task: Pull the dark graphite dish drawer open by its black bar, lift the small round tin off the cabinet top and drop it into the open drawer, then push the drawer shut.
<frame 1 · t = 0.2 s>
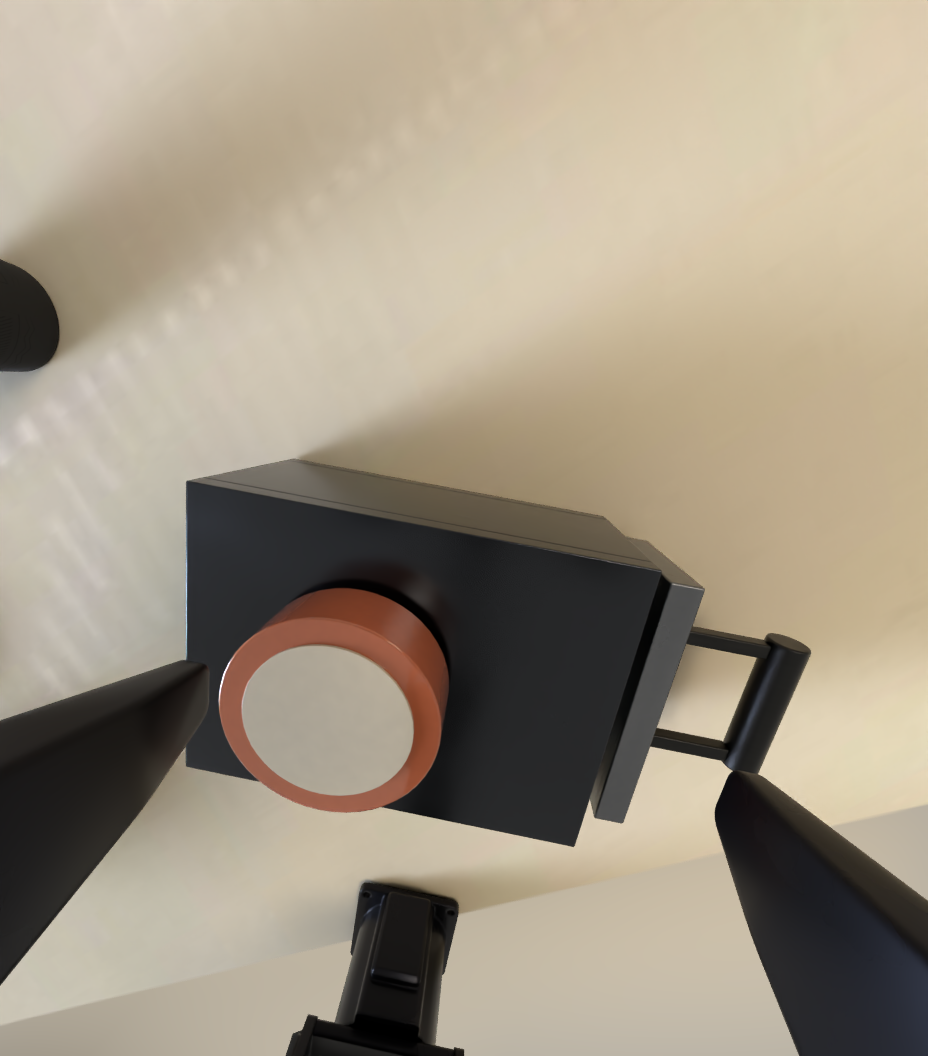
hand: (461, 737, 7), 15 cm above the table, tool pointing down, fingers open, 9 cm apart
cabinet: (429, 594, 23), on the table
drawer: (537, 652, 19), point 4 cm above the table, slide at 0.8 cm
round tin: (355, 671, 15), point 8 cm above the table, touching cabinet
drinking cup: (15, 318, 21), on the table
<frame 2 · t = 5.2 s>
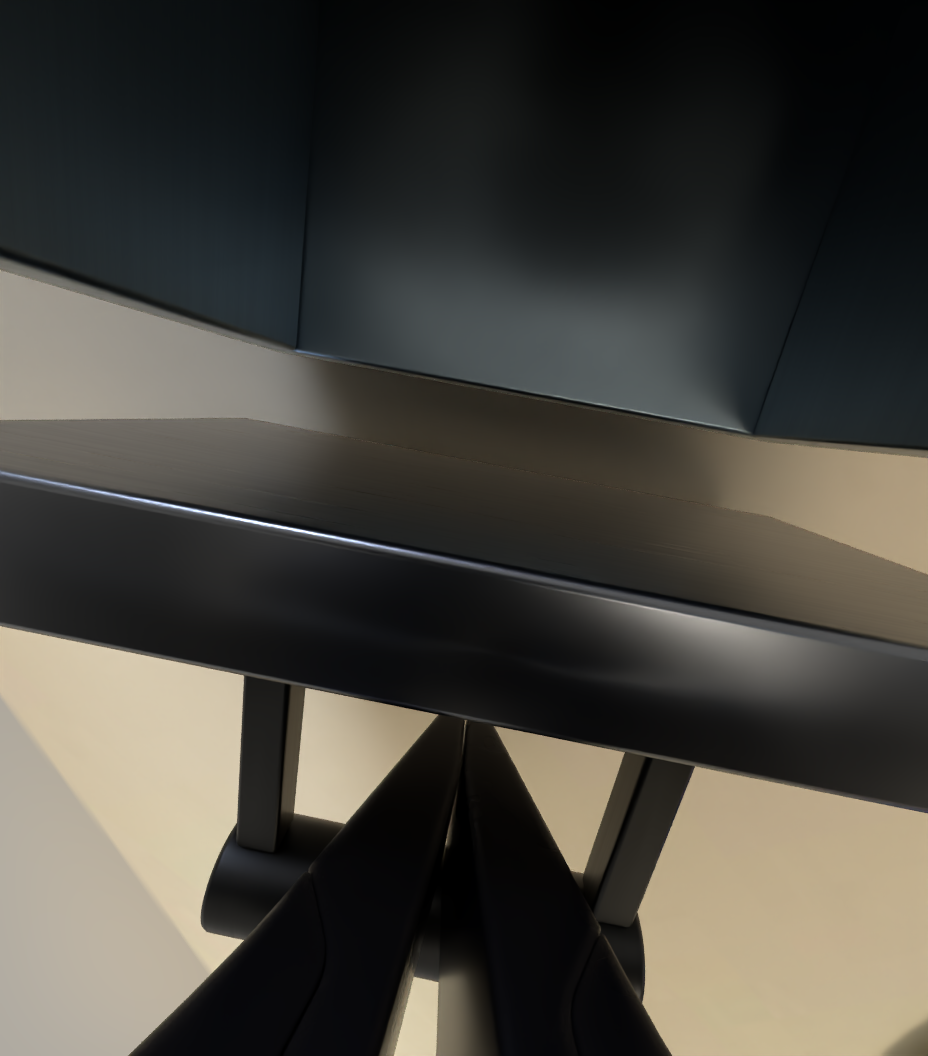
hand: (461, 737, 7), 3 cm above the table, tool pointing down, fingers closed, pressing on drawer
drawer: (568, 208, 5), point 4 cm above the table, slide at 4.0 cm, touching gripper
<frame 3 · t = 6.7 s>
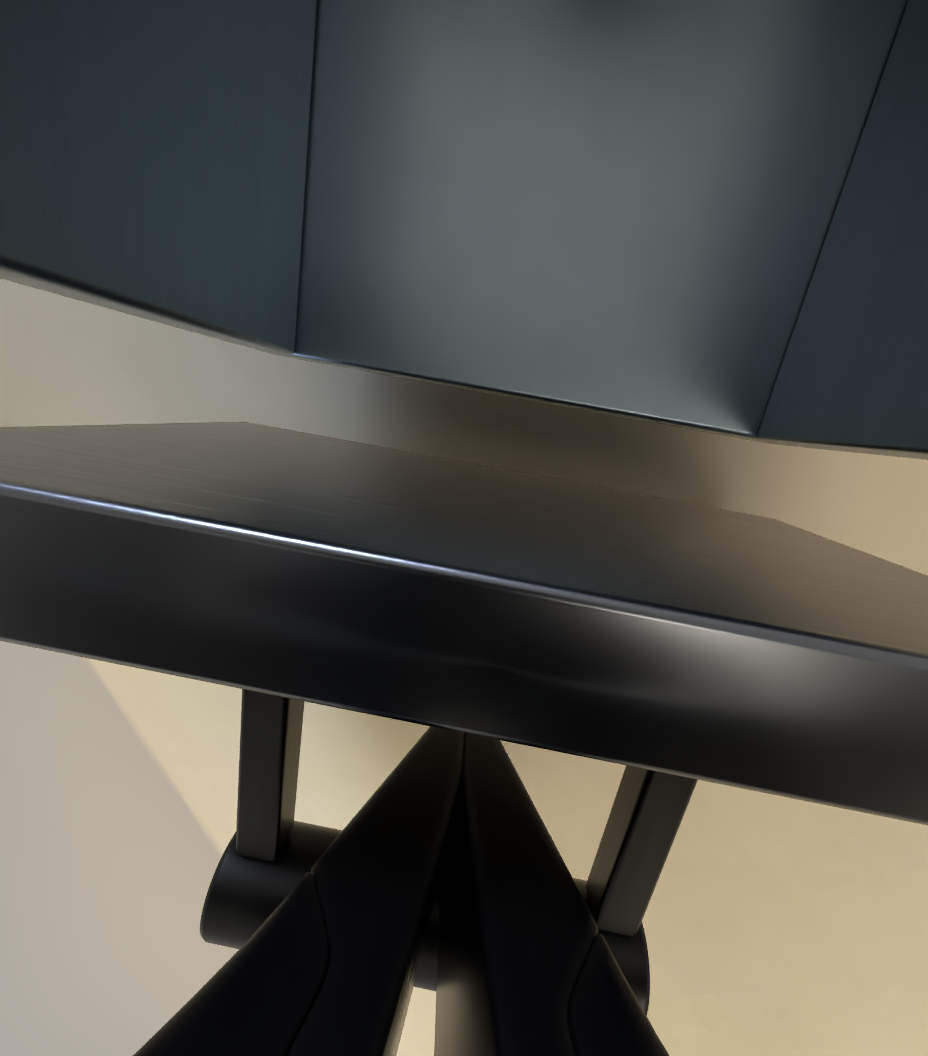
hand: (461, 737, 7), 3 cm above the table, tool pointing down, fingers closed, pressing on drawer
drawer: (568, 209, 5), point 4 cm above the table, slide at 9.7 cm, touching gripper
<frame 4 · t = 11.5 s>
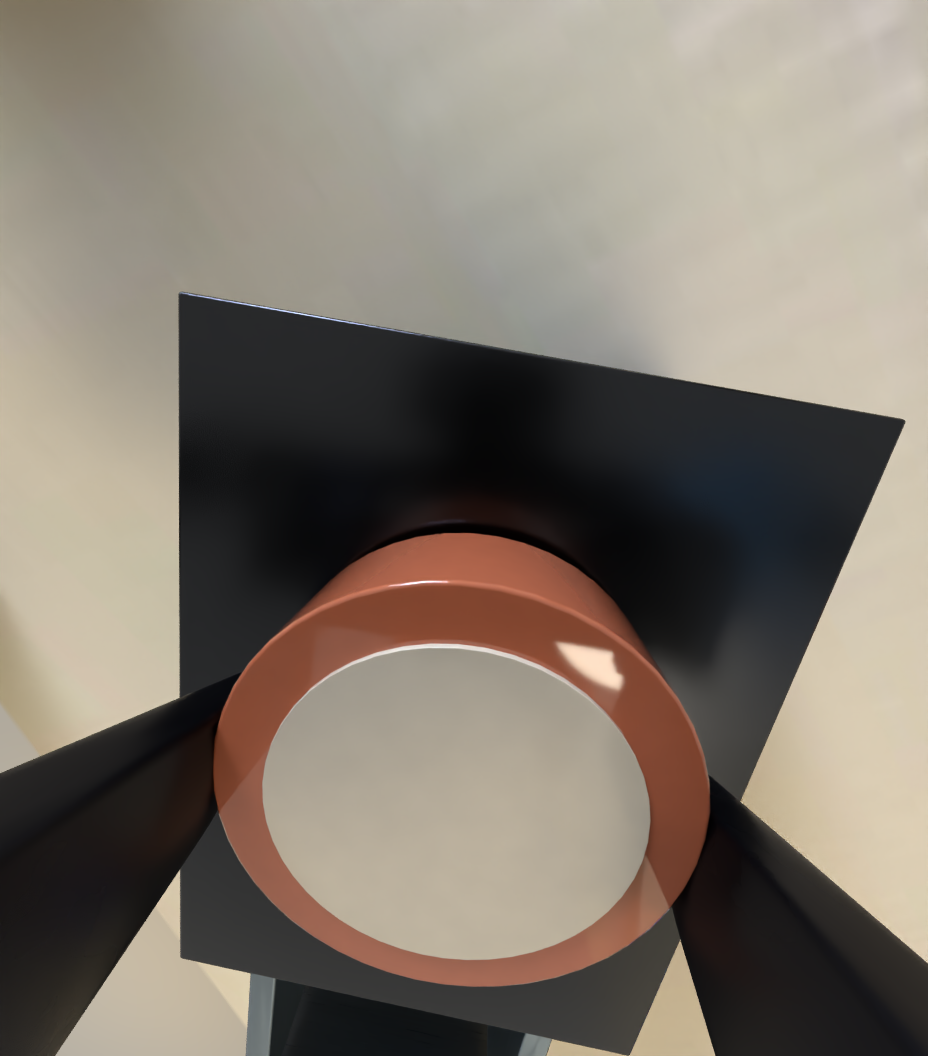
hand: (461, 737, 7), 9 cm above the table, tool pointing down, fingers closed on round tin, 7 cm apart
cabinet: (472, 601, 16), on the table
drawer: (399, 987, 16), point 4 cm above the table, slide at 9.7 cm
round tin: (464, 694, 8), point 8 cm above the table, touching cabinet, gripper
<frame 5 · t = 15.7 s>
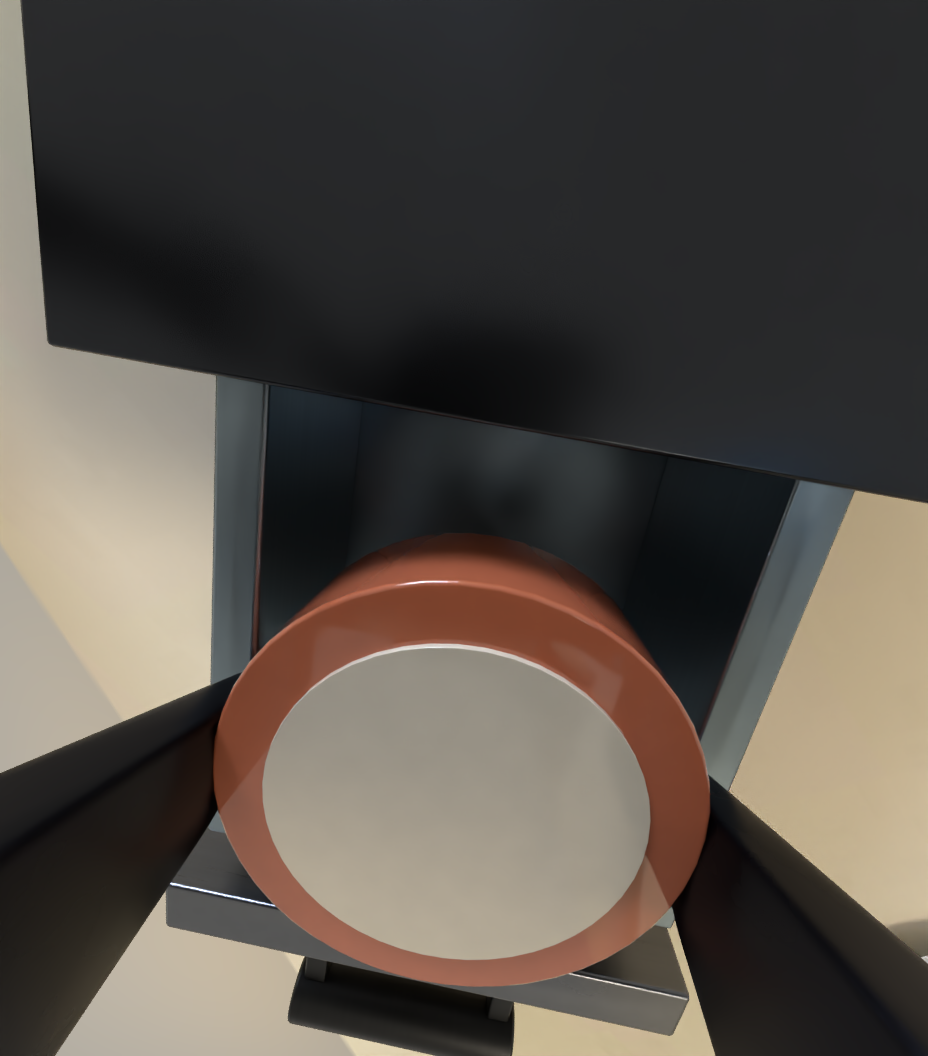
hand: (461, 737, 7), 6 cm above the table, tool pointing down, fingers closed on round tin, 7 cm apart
cabinet: (577, 89, 10), on the table
drawer: (462, 704, 10), point 4 cm above the table, slide at 9.7 cm, touching gripper
round tin: (464, 694, 8), point 5 cm above the table, touching gripper
when the fingers open (7 cm above the table, at t = 23.0 s): round tin drops 4 cm, resting on drawer.
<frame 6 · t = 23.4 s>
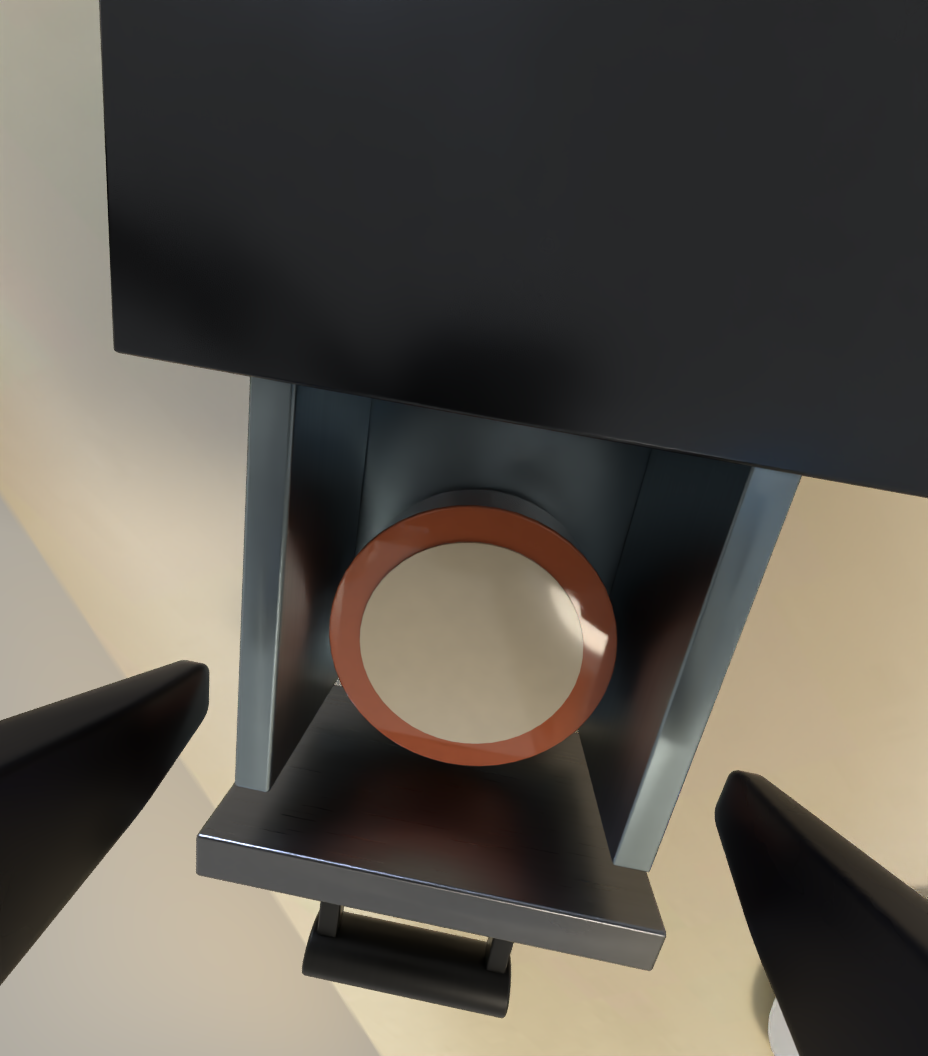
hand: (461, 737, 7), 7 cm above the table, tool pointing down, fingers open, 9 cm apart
cabinet: (568, 114, 11), on the table
drawer: (463, 678, 11), point 4 cm above the table, slide at 9.8 cm, touching round tin
pudding: (905, 995, 18), on the table
round tin: (475, 601, 13), point 2 cm above the table, touching drawer
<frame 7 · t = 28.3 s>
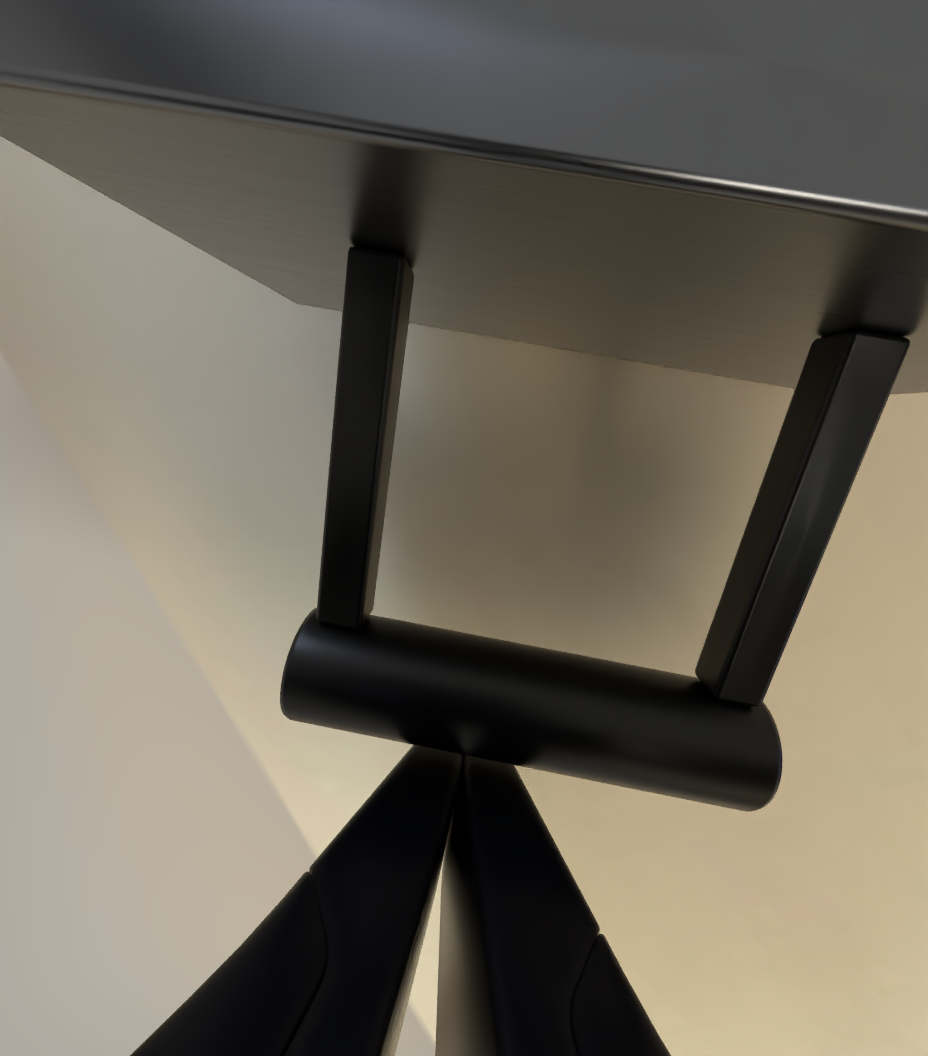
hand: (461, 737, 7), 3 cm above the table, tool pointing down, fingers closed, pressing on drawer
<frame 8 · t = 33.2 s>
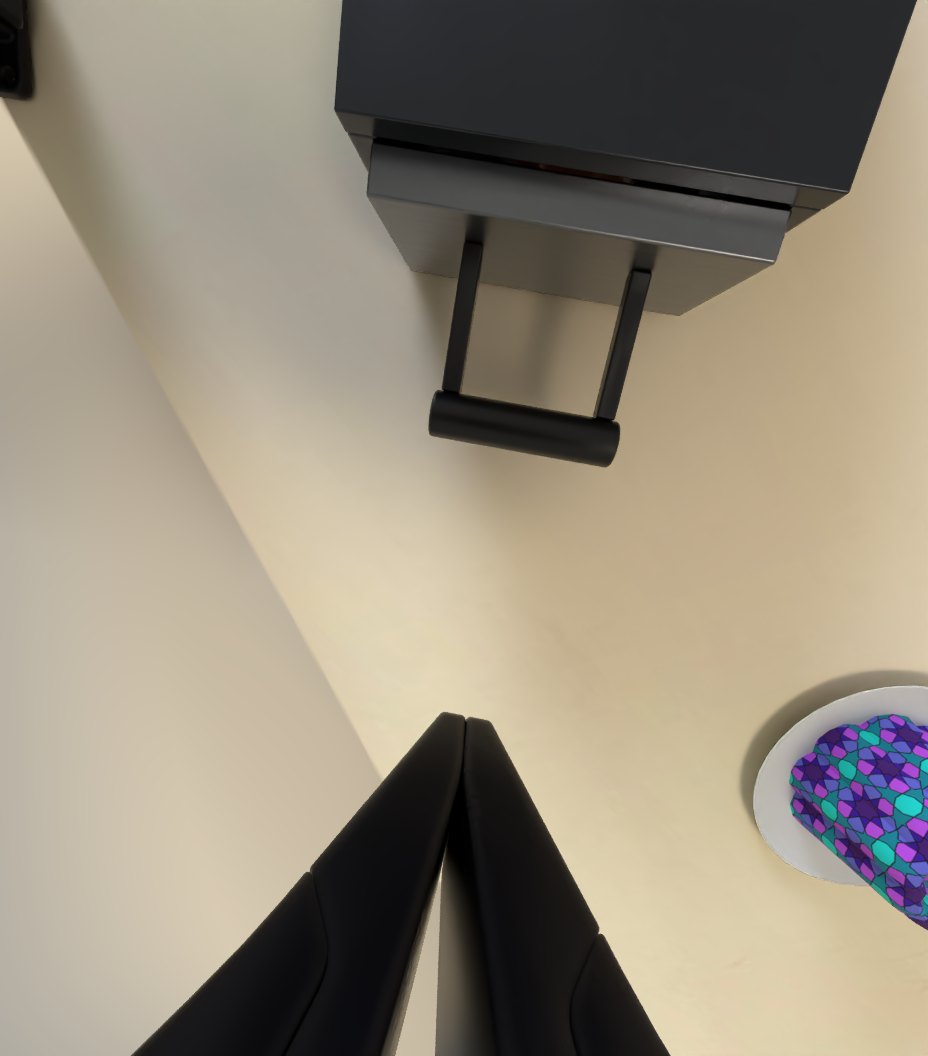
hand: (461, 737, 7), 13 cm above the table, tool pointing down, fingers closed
cabinet: (597, 16, 15), on the table
drawer: (587, 100, 12), point 4 cm above the table, slide at 0.0 cm, touching round tin
pudding: (866, 777, 22), on the table
round tin: (585, 87, 14), point 2 cm above the table, touching drawer
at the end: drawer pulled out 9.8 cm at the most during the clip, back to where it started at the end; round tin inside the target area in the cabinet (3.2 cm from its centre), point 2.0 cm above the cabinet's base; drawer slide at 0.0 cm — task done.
